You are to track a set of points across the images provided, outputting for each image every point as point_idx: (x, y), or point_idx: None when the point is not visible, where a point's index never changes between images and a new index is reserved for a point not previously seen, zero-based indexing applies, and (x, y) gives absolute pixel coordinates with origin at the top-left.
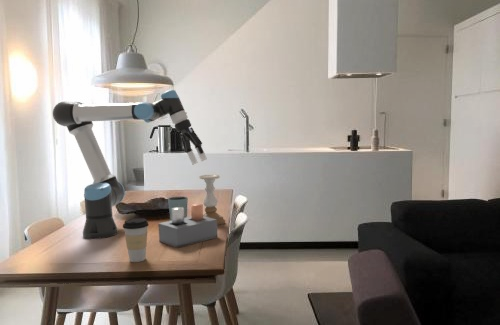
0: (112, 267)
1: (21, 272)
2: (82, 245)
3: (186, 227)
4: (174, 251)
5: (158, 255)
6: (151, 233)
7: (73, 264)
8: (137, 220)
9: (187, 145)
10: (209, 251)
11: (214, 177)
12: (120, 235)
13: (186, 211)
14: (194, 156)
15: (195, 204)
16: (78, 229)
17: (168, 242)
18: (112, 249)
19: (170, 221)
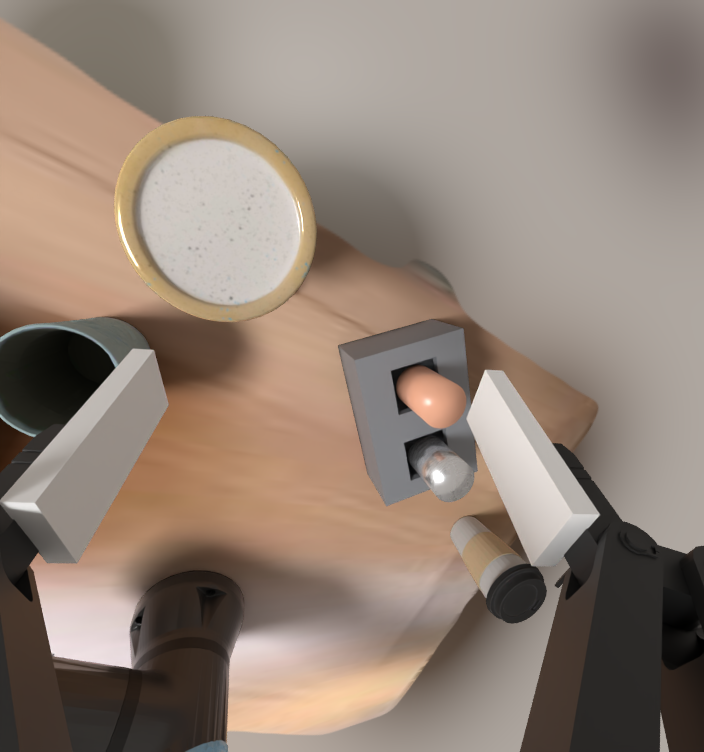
0: None
1: (401, 692)
2: (286, 636)
3: (473, 441)
4: None
5: None
6: (266, 481)
7: (414, 629)
8: (521, 597)
9: (49, 717)
10: (516, 387)
11: (315, 224)
12: (236, 561)
13: (119, 331)
14: (109, 418)
15: (434, 407)
16: None
17: None
18: (363, 574)
19: (387, 470)
